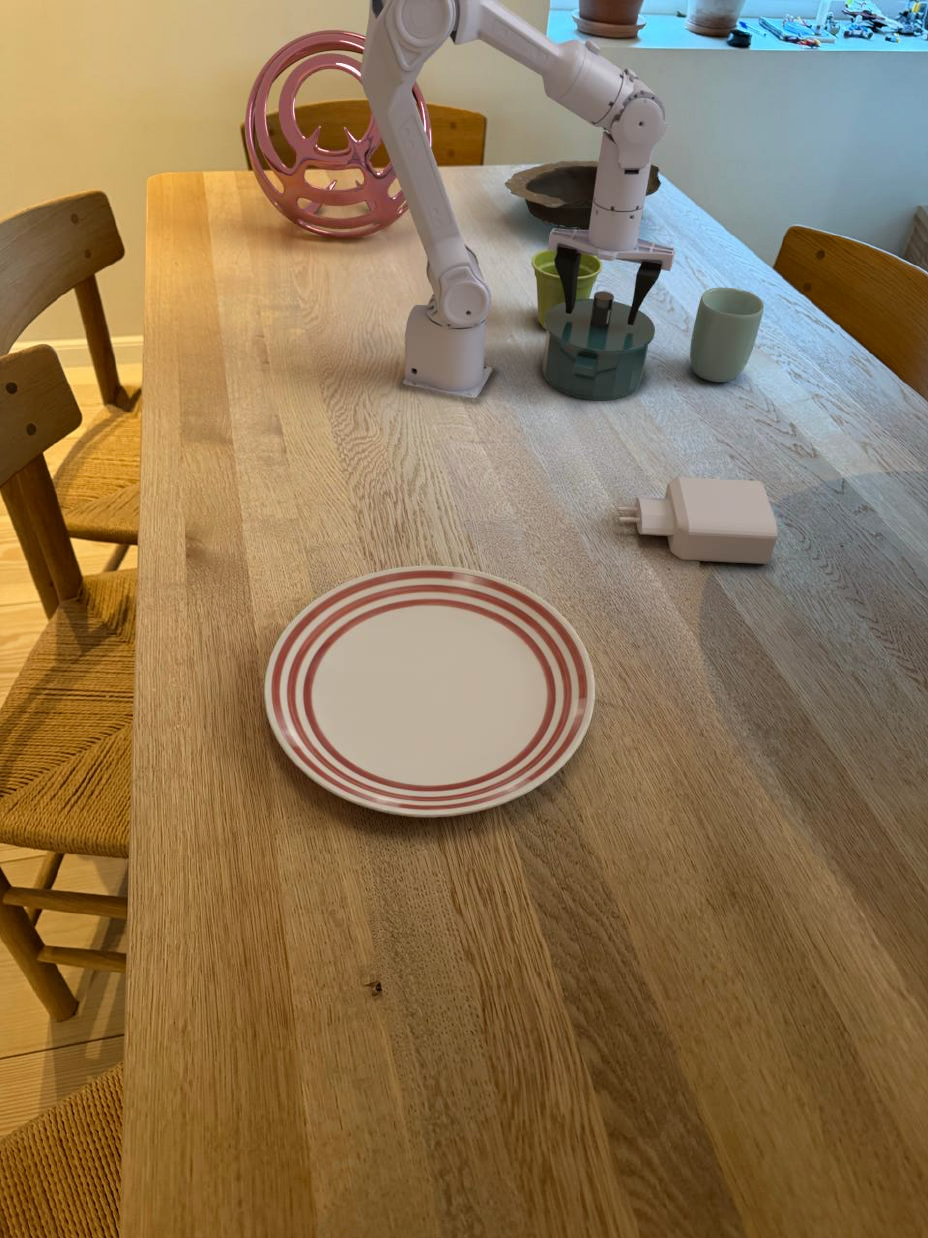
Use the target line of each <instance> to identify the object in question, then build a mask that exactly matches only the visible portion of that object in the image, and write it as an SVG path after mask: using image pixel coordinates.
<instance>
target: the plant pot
mask: <svg viewBox="0 0 928 1238" xmlns="http://www.w3.org/2000/svg"><path fill="white" fill-rule="evenodd" d="M556 254H557V251H551V250H548V248H547V249H543V250H540V251H538V252H537V253H535V254H534V255H533V256H532V257H531V266H532V268H533V271H534V272H533V273H534V276H535V280H536V298H537V300H536V301H537V321H538V324H540V325H541V327H542V328H543V329H544V330H546V328H545V325H544V321H545V316H546V314H547V312H548V311H549V310H550V309H551V308H552V307H554V306H556V305H558V304H560V303H563V302H565V297H564V291H563V286H562V283H561V279H560V277H559V274H558V271H557V269H556V267H555V262H554V259H555V257H556ZM602 270H603V262H602V260H601V259H598V258H597V256H594V255H588V254H582V256H581V261H580V267H579V273H578V279H577V292H576V299H591V298H590V297H591V293H592V290H593V287H594V283H595V282H596V281H597V278H598V275H599V274H600V273H601V272H602Z"/></svg>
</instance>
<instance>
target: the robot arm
mask: <svg viewBox="0 0 928 1238" xmlns="http://www.w3.org/2000/svg"><path fill="white" fill-rule="evenodd" d="M368 9H369V10H368V19H367V27H366V32H365V36H366V38H365V44H364V50H363V55H362V58H361V62H360V63H361V69H360V76H361V82H362V84H361V86H362V88H363V92H364V94H365V95H364V96H365V97H366V100H367V102H368V105H369V108H370V111H371V110H372V113H373V116H374V118H375V121H376V124H377V126H378V129H379V132H380V134H381V137H382V143H383V144H384V147H385V150H386V152H387V155H388V158H389V161H391V163H392V166H393V168H394V171H395V174H396V176H397V178H396V179H397V181H398V184H399V186H400V190H401V189H402V192H403V195H404V197H405V203H406V202H407V205H408V208H409V209H408V211H409V214H410V215H411V218H412V222H413V223H414V226H415V229H416V231H417V234H418V236H419V239H420V242H421V244H422V247H423V250H424V253H425V255H426V258H427V259H426V260H427V261H426V269H425V270H426V277H427V280H428V283H429V284H430V285H431V289H432V293H433V294H432V295H431V296H430V299H429V301H428V303H427V304H415V305H413V306H412V308H411V310H410V312H409V315H408V316H407V321H406V325H405V332H404V380H403V381H402V384H403V385H407V386H410V387H411V386H412V387H416V388H422V389H426V390H431V391H435V392H439V393H440V392H441V393H445V394H450V395H456V396H461V397H464V398H465V397H466V398H470V399H476V398H477V397H478V396H479V395H480V393H481V392H482V390H483V389H484V387H485V385H486V383H487V382H488V380H489V378H490V376H491V375H492V373H493V367H491V366H488V365H485V351H486V337H487V336H486V335H487V321H488V313H489V312H490V309H491V307H492V306H491V305H492V300H493V299H492V297H493V296H492V292H491V290H490V287H489V285H488V283H487V282H486V280H485V278H484V275H483V274H482V272H481V268H480V265H479V260H478V257H477V255H476V253H475V252H474V250H473V249H472V248H470V246H468V245H467V244H466V243H465V241H464V238H463V236H462V233H461V230H460V227H459V224H458V222H457V218H456V216H455V212H454V210H453V206H452V204H451V201H450V198H449V196H448V193H447V190H446V187H445V184H444V180H443V179H442V175H441V172H440V170H439V166H438V164H437V161H436V158H435V155H434V152H433V148H432V149H431V146H430V143H429V140H428V138H427V135H426V132H425V129H424V126H423V123H422V119H421V113H420V111H419V108H418V105H417V103H416V101H415V99H414V97H413V94H412V87H413V85H414V83H415V81H416V82H417V79H418V77H419V75H420V73H421V71H422V69H423V67H424V65H425V63H426V62H427V61H428V60H429V59H430V58H432V56H433V55H434V54H435V53H436V52H437V51H439V49H441V47H443V45H444V44H445V42H446V41H447V40H448V39H449V38H450V40H451V41H452V43H453V45H455V46H459V45H462V44H463V45H464V44H466V43H470V42H473V41H477V40H479V41H482V42H483V43H486V44H487V45H489V46H490V47H492V48H494V49H495V50H497V51H499V52H500V53H501V54H504V55H506V56H507V57H509V58H510V59H512V60H514V61H516V62H517V63H519V64H521V65H522V66H524V67H526V68H527V69H529V70H531V71H533V72H534V73H536V74H538V75H540V76H541V78H542V82H543V87H544V92H545V95H546V97H547V98H549V99H550V100H552V101H554V102H555V103H557V104H559V105H560V106H562V107H563V108H565V109H566V110H568V111H570V112H571V113H573V114H574V115H576V116H577V117H579V118H580V119H582V120H584V121H585V122H587V123H589V124H590V125H592V126H594V127H596V128H602V129H603V130H604V131H603V132H602V137H601V143H600V152H599V156H598V160H597V161H598V168H597V175H596V183H595V190H594V197H593V204H592V211H591V218H590V226H589V230H580V229H568V228H565V229H564V228H558V227H557V228H556V227H553V228H552V229H551V231H550V233H549V237H548V243H547V245H548V246H547V249H548V250H551V251H557V254H556V257H555V259H554V262H555V267H556V269H557V271H558V274H559V277H560V279H561V283H562V286H563V291H564V297H565V305H566V313H568V314H571V313H572V311H573V309H574V307H575V301H576V292H577V279H578V273H579V267H580V261H581V256H582V254H588V255H594V256H596V257H597V258H598V259H599V260H601V261H602V260H603V261H608V262H613V261H615V260H617V261H623V262H630V263H635V264H640V265H639V268H638V270H637V272H636V275H635V284H634V292H633V296H632V302H631V305H630V306H631V310H630V314H629V317H628V325H634V322H635V319H636V316H637V312H638V310H639V309H640V307H641V306H642V303H643V302H644V300H645V299H646V297H647V295H648V293H649V292H650V291H651V289H652V288H653V287H654V286H655V284H656V282H657V281H658V279H659V277H660V275H661V272H662V271H667V272H671V269H672V267H673V264H674V259H675V254H676V250H677V249H676V248H675V247H671V246H666V245H661V244H659V243H656V242H653V241H649V240H646V239H643V238H641V237H639V235H640V229H641V225H642V220H641V218H642V219H643V214H642V212H643V213H644V206H645V202H646V200H645V199H646V197H645V195H646V190H647V184H648V178H649V173H650V167H651V164H652V158H653V154H654V153H653V152H654V148H655V147H656V146H657V145H658V144H659V143H660V141H661V140H662V139H663V137H664V135H665V133H666V131H667V128H668V125H669V124H668V122H667V121H666V111H665V110H666V109H665V107H664V105H663V101H662V100H661V99H660V97H659V96H658V95H656V94H655V93H654V92H653V91H652V90H651V89H650V88H649V87H648V85H646V83H644V82H643V81H641V79H640V78H639V76H638V75H637V73H635V71H634V70H632V69H630V68H628V67H625V69H624V70H623V69H621V68H619V66H617V65H615V64H614V63H613V62H611V61H610V60H608V59H607V58H605V57H604V56H602V55H600V53H601V51H602V50H601V47H600V46H599V45H598V44H597V43H595V42H594V41H593V40H591V39H586V41H585V43H583V42H582V41H580V40H579V39H570V40H567V41H563V42H560V43H557V42H556V41H553V40H552V39H551V38H549V37H548V36H547V35H546V34H545V33H542V32H541V31H540V30H538V28H536V27H535V26H533V25H532V24H530V23H529V22H528V21H526V20H525V19H523V18H522V17H520V16H519V15H518V14H517V13H515V12H514V11H512V10H511V9H509V8H508V7H507V6H505V5H504V4H503V3H502V2H500V1H499V0H369V8H368ZM639 311H640V310H639Z"/></svg>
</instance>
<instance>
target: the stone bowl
mask: <svg viewBox="0 0 928 1238" xmlns="http://www.w3.org/2000/svg"><path fill="white" fill-rule="evenodd" d="M598 161H599V160H572V161H571V160H570V161H569V160H562V161H558V162H550V163H544V164H540V165H537V166H533V167H531V168H527V169H524V170H521V171H518V172H516V173H513V175H512V176H511V178H508V179H507V180H506V182H504V186H505V188H506V189H508V190H509V191H510V194H511V195H513V196H516V197H519V198H522V199H524V202H525V205H526V208H527V211H528V213H529V214H530V216H532V217H533V218H536V219H537V220H540V221H542V222H543V223H547V224H548V225H553V226H558V227H560V226H561V227H563V228H565V229H578V230H589V226H590V218H591V211H592V204H593V197H594V190H595V183H596V175H597V168H598ZM659 172H660V168H659V167H658V166H657V165H653V164H652V163H651V167H650V173H649V178H648V184H647V190H646V195H645V198H646V197H649V196H651V195H653V194H654V193H656V192H657V191H658V190H659V188H660V187H661V185H662V181H661V180H660V178H659V177H660V175H659ZM643 213H644V211H643V212H642V215H643ZM642 219H643V217H642V218H641V221H642Z"/></svg>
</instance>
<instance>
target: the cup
mask: <svg viewBox="0 0 928 1238" xmlns="http://www.w3.org/2000/svg"><path fill="white" fill-rule="evenodd" d="M764 309H765V306H764V301H763V300H762V299H761V298H760V297H759V296H757V295H756V294H754V293H752V292H750V291H747V290H743V289H739V288H735V287H713V288H712V287H711V288H710V289H706V291H704V292H703V293H702V295H701V297H700V299H699V302H698V306H697V310H696V314H695V319H694V324H693V329H692V334H691V340H690V349H689V359H690V365H691V369H692V370H693V372H694V373H695V375H697V376H698V377H699V378H701V379H703V380H705V381H708V382H713V383H727V382H731V381H733V380H735V379H736V378H738V377H739V376H740V375H741V374H742V373H743V371H744V370H745V368H746V366H747V364H748V362H749V359H750V357H751V354H752V352H753V349H754V346H755V343H756V339H757V336H758V334H759V333H758V332H759V329H760V326H761V322H762V318H763V314H764Z"/></svg>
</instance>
